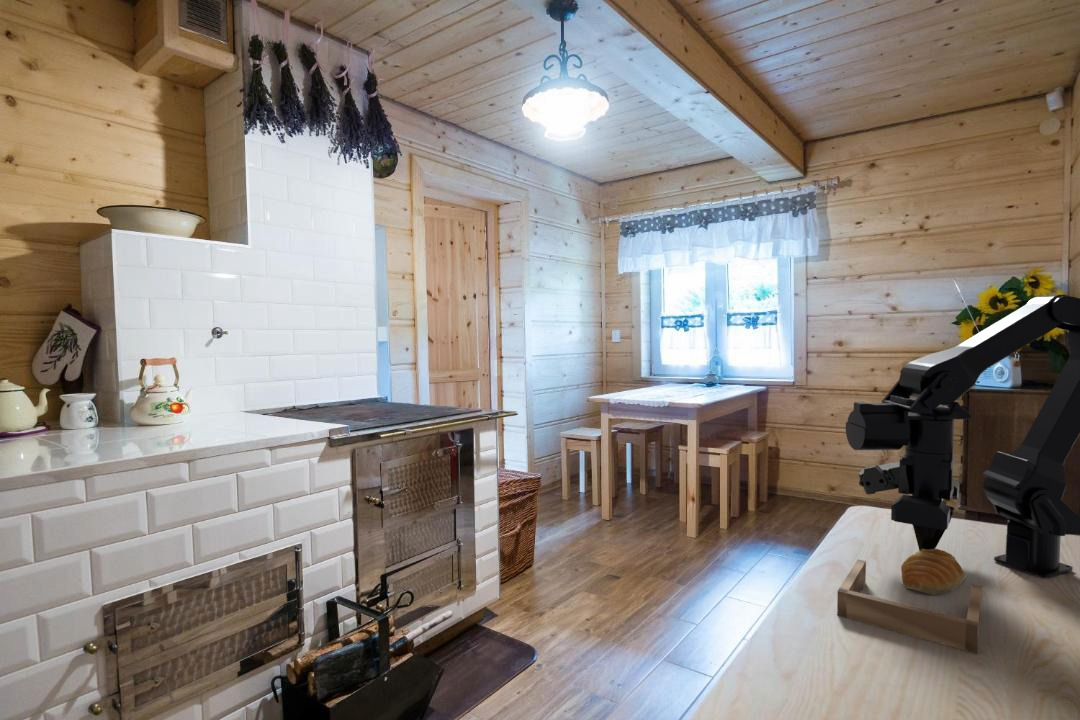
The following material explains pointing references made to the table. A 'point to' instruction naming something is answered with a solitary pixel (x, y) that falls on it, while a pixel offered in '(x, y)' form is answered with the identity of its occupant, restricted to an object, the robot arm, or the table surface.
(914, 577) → the pastry
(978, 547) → the table surface
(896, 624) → the wooden frame
